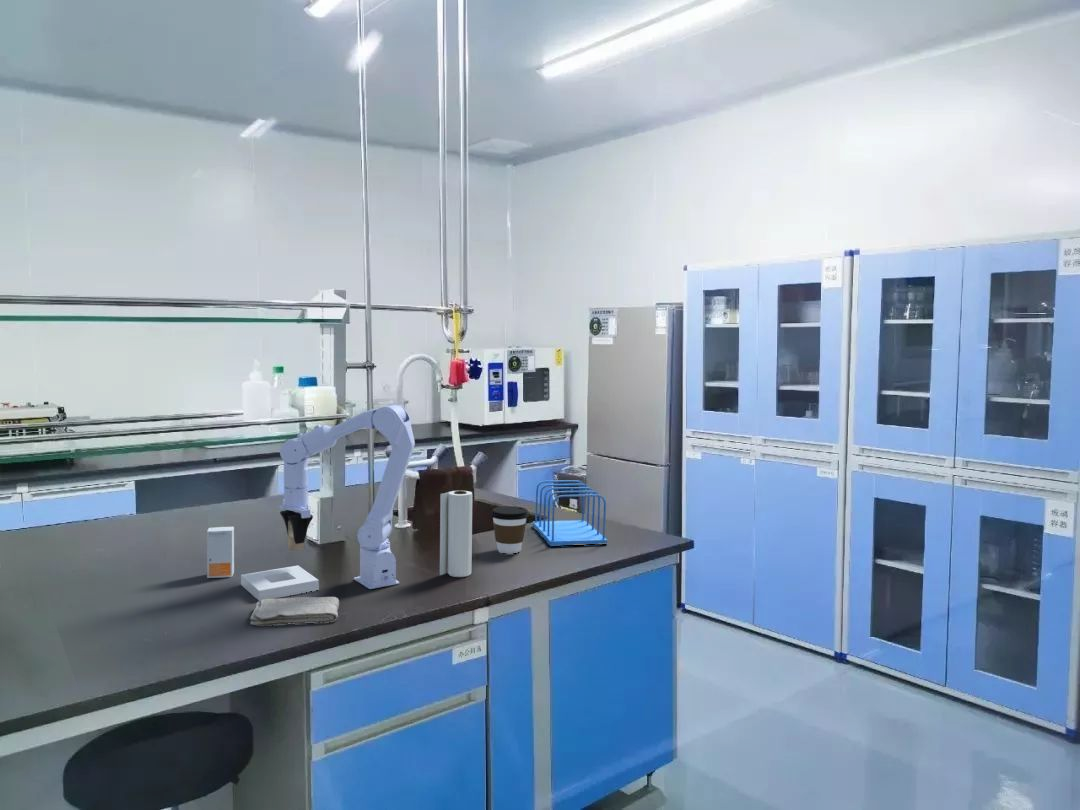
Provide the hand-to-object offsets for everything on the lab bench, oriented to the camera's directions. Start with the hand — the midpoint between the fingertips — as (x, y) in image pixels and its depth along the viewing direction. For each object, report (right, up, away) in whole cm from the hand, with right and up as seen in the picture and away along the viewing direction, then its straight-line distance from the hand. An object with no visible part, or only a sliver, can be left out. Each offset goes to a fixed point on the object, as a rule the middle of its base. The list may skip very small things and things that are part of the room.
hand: (296, 540), depth 197 cm
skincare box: (-19, -9, +2) cm, 21 cm away
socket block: (-2, -10, -7) cm, 12 cm away
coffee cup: (+52, -8, +28) cm, 60 cm away
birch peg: (0, -2, 0) cm, 2 cm away
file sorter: (+69, -7, +47) cm, 84 cm away
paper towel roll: (+39, -10, +7) cm, 41 cm away
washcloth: (+7, -13, -24) cm, 28 cm away
